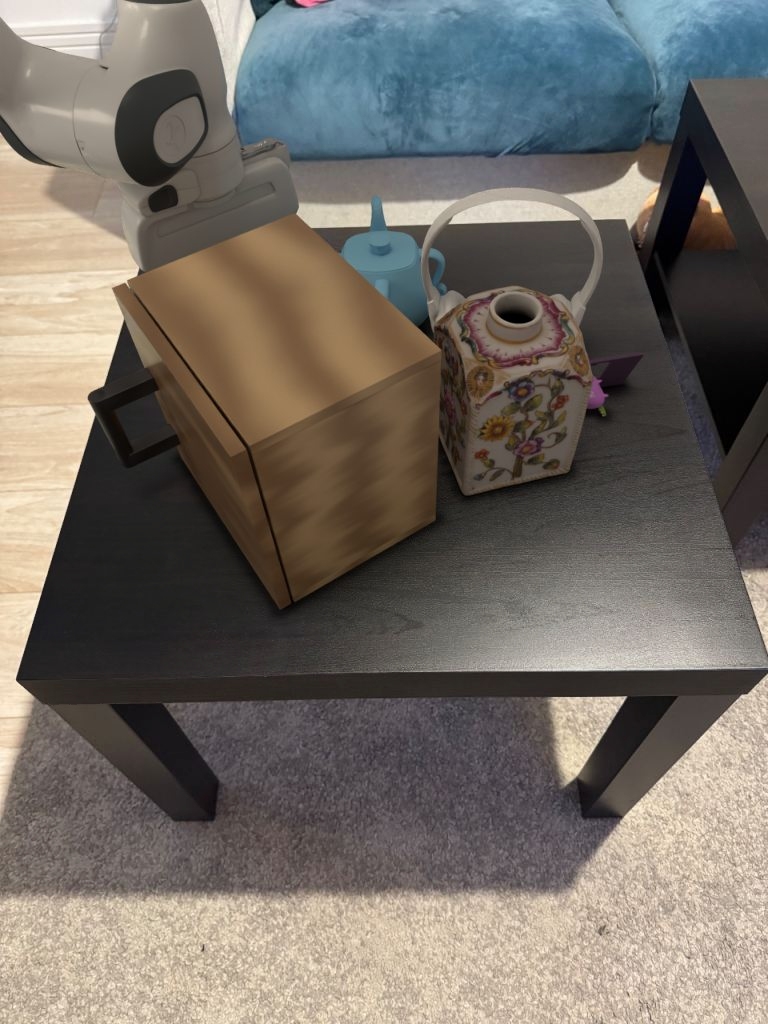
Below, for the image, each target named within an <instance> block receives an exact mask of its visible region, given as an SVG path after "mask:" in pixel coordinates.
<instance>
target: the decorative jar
mask: <svg viewBox="0 0 768 1024" xmlns="http://www.w3.org/2000/svg"><path fill="white" fill-rule="evenodd" d="M432 342H433V343H434V344H435V345H437V346H438V347H439V348H440V349H441V350H442V355H441V381H440V409H439V436H438V439H439V441H440V443H441V445H442V448H443V450H444V452H445V455H446V457H447V460H448V462H449V465H450V467H451V469H452V472H453V473H454V477H455V479H456V481H457V484H458V487H459V489H460V491H461V493H462V494H463V495H464V496H473V495H476V494H480V493H481V494H482V493H485V492H489V491H492V490H493V491H494V490H496V489H501V488H504V487H509V486H514V485H519V484H523V483H528V482H531V481H535V480H540V479H544V478H548V477H554V476H558V475H563V474H567V473H568V472H570V470H571V466H572V463H573V460H574V457H575V453H576V450H577V446H578V442H579V440H580V437H581V432H582V428H583V424H584V420H585V418H586V412H587V405H588V400H589V396H590V393H591V389H592V386H593V381H594V378H593V376H594V375H593V373H592V366H591V364H590V360H591V358H590V355H589V354H588V352H587V350H586V346H585V340H584V337H583V333H582V331H581V329H580V326H579V327H578V324H577V322H576V321H575V319H574V318H573V316H572V314H571V312H570V311H569V310H568V309H567V308H566V306H565V305H564V304H563V303H562V302H561V301H558V300H556V299H553V298H551V297H550V296H549V295H547V294H544V293H542V292H540V291H538V290H532V289H530V288H527V287H523V286H520V285H510V286H504V287H498V288H493V289H487V290H485V291H481V292H478V293H474V294H471V295H469V296H468V297H466V298H465V300H464V301H463V302H462V303H460V304H459V305H457V306H456V307H455V308H453V309H451V310H450V311H449V312H448V313H446V314H445V315H444V316H443V317H442V318H441V319H440V320H438V321H437V322H436V323H435V325H434V333H433V340H432Z"/></svg>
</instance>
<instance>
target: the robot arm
mask: <svg viewBox="0 0 768 1024" xmlns="http://www.w3.org/2000/svg"><path fill="white" fill-rule="evenodd" d="M116 12H117V18H118V19H117V26H116V30H115V34H114V37H113V40H112V42H111V44H110V46H109V49H108V50H107V51H106V53H105V55H104V56H103V57H102V58H101V59H95V58H91V57H85V56H80V55H75V54H70V53H65V52H61V51H59V50H56V49H54V48H53V49H52V48H50V47H46V46H42V45H39V44H34V43H33V42H29V41H27V40H26V39H24V38H22V37H20V35H18V34H17V33H16V32H14V31H13V29H12V28H11V27H10V26H9V25H8V24H7V23H6V22H5V21H4V19H3V18H2V17H1V16H0V134H1V136H2V137H3V139H4V140H5V142H6V143H7V144H8V145H9V146H10V147H11V149H12V150H13V151H15V153H17V154H18V155H19V156H20V157H22V158H23V159H24V160H26V161H28V162H31V163H33V164H36V165H40V166H45V167H53V168H59V169H69V170H72V171H77V172H81V173H84V174H89V175H93V176H96V177H100V178H105V179H109V180H113V181H115V182H116V185H117V187H118V189H119V192H120V194H121V195H122V196H123V198H124V199H123V201H122V203H121V206H120V207H121V208H120V217H121V224H122V229H123V233H124V237H125V240H126V244H127V247H128V250H129V253H130V256H131V258H132V260H133V261H134V263H135V264H136V265H137V266H138V268H139V269H140V270H141V271H143V272H144V273H146V272H149V271H151V270H154V269H156V268H159V267H161V266H164V265H166V264H169V263H171V262H174V261H176V260H179V259H181V258H184V257H186V256H189V255H191V254H194V253H196V252H199V251H201V250H204V249H206V248H209V247H211V246H214V245H216V244H219V243H221V242H224V241H226V240H229V239H231V238H234V237H236V236H239V235H241V234H244V233H246V232H249V231H251V230H254V229H256V228H259V227H261V226H264V225H266V224H269V223H271V222H274V221H276V220H279V219H281V218H284V217H286V216H289V215H291V214H294V213H296V214H297V213H298V211H299V208H300V203H299V202H300V201H299V198H298V193H297V190H296V186H295V183H294V180H293V177H292V174H291V172H290V169H291V163H292V161H291V156H290V154H291V153H290V150H289V147H288V144H287V143H286V142H285V141H284V140H282V139H276V138H275V137H273V136H271V137H266V138H264V139H262V140H260V141H259V142H255V143H250V144H247V145H244V146H240V141H239V137H238V132H237V127H236V123H235V121H234V119H233V116H232V114H231V113H230V111H229V106H228V100H227V99H228V83H227V79H226V73H225V68H224V65H223V64H224V63H223V60H222V55H221V51H220V46H219V42H218V39H217V35H216V32H215V30H214V26H213V24H212V21H211V17H210V15H209V13H208V10H207V8H206V6H205V4H204V2H203V0H116Z"/></svg>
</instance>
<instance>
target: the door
mask: <svg viewBox="0 0 768 1024" xmlns="http://www.w3.org/2000/svg"><path fill="white" fill-rule="evenodd" d="M111 290H112V293H113V295H114V297H115V300H116V302H117V305H118V307H119V310H120V312H121V315H122V317H123V319H124V322H125V324H126V327H127V329H128V332H129V334H130V337H131V339H132V341H133V343H134V346H135V349H136V351H137V354H138V356H139V358H140V360H141V363H142V365H143V368H141V369H139V370H137V371H135V372H133V373H130V374H127V375H125V376H124V377H121V378H119V379H117V380H115V381H112V382H110V383H107V384H105V385H103V386H101V387H98V388H96V389H94V390H92V391H90V392H89V393H88V395H87V401H88V403H89V405H90V407H91V409H92V410H93V413H94V415H95V417H96V418H97V420H98V422H99V425H101V426H100V427H101V428H102V430H103V432H104V434H105V436H106V438H107V439H108V441H109V444H110V445H111V447H112V449H113V451H114V453H115V455H116V457H117V459H118V461H119V462H120V464H121V466H122V467H123V468H126V469H131V468H134V467H136V466H138V465H140V464H142V463H144V462H146V461H148V460H151V459H152V458H154V457H156V456H159V455H161V454H163V453H165V452H168V451H169V450H172V449H173V448H175V447H176V448H177V451H178V454H179V456H180V458H181V460H182V461H183V463H184V464H185V466H186V467H187V469H188V470H189V472H190V474H191V475H192V477H193V478H194V480H195V482H196V483H197V485H198V486H199V488H200V489H201V491H202V492H203V493H204V495H205V496H206V498H207V500H208V501H209V503H210V504H211V506H212V507H213V509H214V510H215V512H216V513H217V515H218V517H219V518H220V520H221V521H222V523H223V524H224V526H225V527H226V529H227V530H228V532H229V533H230V535H231V536H232V538H233V540H234V541H235V543H236V544H237V546H238V547H239V549H240V551H241V552H242V553H243V555H244V556H245V558H246V560H247V562H248V563H249V565H250V566H251V568H252V570H253V571H254V572H255V573H256V575H257V576H258V578H259V580H260V581H261V583H262V584H263V585H264V587H265V589H266V590H267V592H268V594H269V595H270V596H271V598H272V600H273V601H274V602H275V605H276V606H277V607H278V609H279V610H283V609H284V608H286V607H288V606H290V605H291V604H292V599H291V597H290V595H289V593H288V589H287V586H286V583H285V579H284V576H283V572H282V569H281V566H280V562H279V559H278V555H277V552H276V548H275V545H274V542H273V538H272V535H271V531H270V528H269V524H268V521H267V518H266V514H265V511H264V507H263V504H262V501H261V497H260V494H259V490H258V487H257V483H256V480H255V477H254V473H253V470H252V466H251V463H250V460H249V456H248V453H247V449H246V448H245V446H244V445H243V444H242V442H241V441H240V440H239V438H238V437H237V435H236V434H235V433H234V431H233V430H232V429H231V427H230V426H229V424H228V423H227V422H226V420H225V419H224V418H223V416H222V415H221V413H220V412H219V411H218V409H217V408H216V407H215V405H214V404H213V402H212V401H211V400H210V398H209V397H208V396H207V394H206V393H205V391H204V390H203V389H202V387H201V386H200V385H199V383H198V382H197V380H196V379H195V378H194V376H193V375H192V374H191V372H190V371H189V370H188V368H187V367H186V365H185V364H184V363H183V361H182V360H181V359H180V357H179V356H178V354H177V353H176V352H175V350H174V349H173V348H172V346H171V345H170V343H169V342H168V341H167V339H166V338H165V337H164V335H163V334H162V332H161V331H160V330H159V328H158V327H157V326H156V324H155V323H154V321H153V320H152V319H151V317H150V316H149V315H148V313H147V312H146V310H145V309H144V308H143V306H142V305H141V304H140V302H139V301H138V299H137V298H136V297H135V295H134V294H133V293H132V291H131V290H130V288H129V285H128V283H127V282H123V283H121V284H118V285H115V286H113V287H111ZM153 393H154V395H155V397H156V400H157V402H158V405H159V407H160V409H161V412H162V414H163V417H164V419H165V422H166V425H164V426H162V427H159V428H157V429H155V430H153V431H151V432H149V433H147V434H144V435H142V436H140V437H137V438H136V439H134V440H131V441H130V439H129V437H128V436H127V433H126V432H125V430H124V427H123V425H122V423H121V420H120V419H119V417H118V415H117V413H116V410H118V409H120V408H122V407H125V406H126V405H129V404H131V403H133V402H136V401H138V400H140V399H142V398H145V397H146V396H149V395H151V394H153Z"/></svg>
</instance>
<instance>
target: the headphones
mask: <svg viewBox="0 0 768 1024" xmlns="http://www.w3.org/2000/svg"><path fill="white" fill-rule="evenodd" d="M504 201H526V202H528V201H529V202H537V203H542V204H547V205H551V206H553V207H558V208H560V209H562V210H564V211H567V212H569V213H570V214H572V215H574V216H575V217H577V218H578V220H579V222H580V224H581V226H582V228H583V229H584V230H585V231H586V232H587V234H588V236H589V239H590V240H591V242H592V246H593V251H594V256H593V264H592V267H591V270H590V273H589V275H588V277H587V280H586V282H585V284H584V285H583V287H582V289H581V290H578V291H577V292H576V293H574V295H573V296H572V297H571V299H570V300H569V299H567V297H565V296H564V295H563V294H561V293H556V294H552V295H550V296H549V297H551V298H553V299H556V300H558V301H561V302H562V303H563V304H564V305H565V306H566V308H567V309H568V310H569V311H570V312H571V314H572V316H573V318H574V319H575V321H576V322H577V324H578V327H579V328H580V326H581V324H582V321H583V318H584V316H585V312H586V310H587V304H588V303H589V301H590V299H591V297H592V296H593V294H594V292H595V290H596V288H597V285H598V284H599V280H600V277H601V274H602V270H603V263H604V250H603V243H602V239H601V235H600V231H599V228H598V227H597V224H596V222H595V221H594V219H593V217H592V216H591V215H590V214H589V212H587V211H586V210H585V209H584V208H583V207H582V206H581V205H579V204H578V203H577V202H575V201H573V200H572V199H570V198H568V197H566V196H564V195H561V194H559V193H556V192H554V191H553V192H552V191H549V190H544V189H539V188H532V187H500V188H491V189H486V190H482V191H479V192H475V193H473V194H470V195H467V196H464V197H463V198H461V199H458V200H457V201H456V202H453V203H452V204H450V205H448V207H446V208H445V209H444V210H443V211H442V212H441V213H440V214H439V215H438V216H437V217H436V218H435V220H433V222H432V223H431V225H430V227H429V228H428V231H427V232H426V235H425V237H424V240H423V243H422V248H421V249H422V255H421V275H422V282H423V286H424V290H425V293H426V296H427V306H428V312H429V315H428V317H429V320H430V321H429V322H430V326H431V330H432V333H433V334H434V325H435V323H436V322H437V321H438V320H440V319H441V318H442V317H443V316H444V315H445V314H446V313H448V312H449V311H450V310H451V309H453V308H455V307H456V306H457V305H459V304H460V303H462V302H463V301H464V300H465V299H466V298H465V297H464V296H463V294H461V293H460V292H458V291H455V290H449V291H447V292H446V295H443V296H441V297H440V294H439V292H438V291H439V289H436V287H435V286H433V285H432V278H431V275H430V269H429V259H430V258H429V253H430V249H431V248H433V244H434V242H435V240H436V239H437V237H438V236H439V235H440V233H441V232H442V231H443V230H444V229H445V228H446V227H447V226H448V225H449V224H450V223H451V221H452V220H453V218H454V216H456V215H458V214H459V213H462V212H464V211H466V210H468V209H470V208H473V207H477V206H481V205H484V204H489V203H495V202H504Z"/></svg>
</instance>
